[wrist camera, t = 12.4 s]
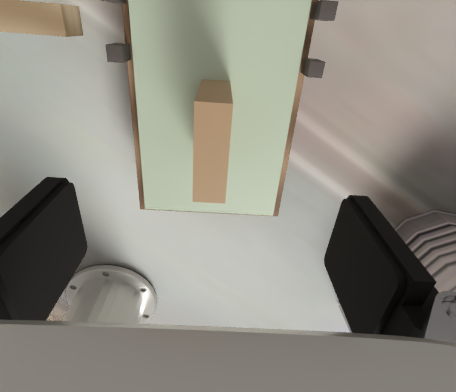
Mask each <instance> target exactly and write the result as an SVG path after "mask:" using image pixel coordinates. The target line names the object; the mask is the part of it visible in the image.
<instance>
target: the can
mask: <svg viewBox="0 0 456 392" xmlns="http://www.w3.org/2000/svg"><path fill="white" fill-rule="evenodd" d="M394 230H395V231H396V232H397V233H398V234H399V236H400V237H401V238H402V239H403V241H404V242H405V243H406V244H407V246H408V247H409V248H410V249H411V251H412V252H413V253H414V254H415V256H416V257H417V258H418V259H419V261H420V262H421V263H422V264H423V266H424V267H425V268H426V269H427V271H428V272H429V273H430V274H431V276H432V277H433V278H434V279H435V281H436V282H437V283H436V284H435V286H434V287H435V288H436V289H437V290H438V292H439V293H440V292H442V291H454V292H456V214H453V213H447V212H442V211H437V210H431V211H428V212H425V213H422V214H419V215H416V216H413V217H410V218H407V219H404V220H403V221H402V222H401V223H400V224H399V225H398V226H397V227H396V228H395V229H394Z"/></svg>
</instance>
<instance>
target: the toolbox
mask: <svg viewBox="0 0 456 392" xmlns="http://www.w3.org/2000/svg"><path fill="white" fill-rule="evenodd" d="M102 1H107V2H112V3H122V10H123V21H124V32H125V43H126V44H121V43H113V44H107V45H106V52H107V60H108V62H118V63H124V62H127V66H128V77H129V88H130V99H131V111H132V122H133V133H134V144H135V155H136V167H137V178H138V189H139V200H140V209H145V204H144V191H143V179H142V166H141V154H140V141H139V129H138V116H137V104H136V91H135V79H134V66H133V54H132V41H131V28H130V16H129V3H128V0H102ZM337 6H338V1H328V0H320V1H318V0H312V1H311V7H310V12H309V18H308V23H307V29H306V35H305V40H304V46H303V51H302V57H301V63H300V68H299V74H298V79H297V85H296V91H295V96H294V102H293V107H292V113H291V119H290V124H289V130H288V135H287V141H286V147H285V152H284V158H283V163H282V169H281V175H280V180H279V186H278V191H277V197H276V203H275V208H274V214H273V216H278V212H279V207H280V202H281V196H282V191H283V186H284V181H285V175H286V170H287V165H288V159H289V154H290V149H291V143H292V138H293V133H294V127H295V122H296V117H297V112H298V106H299V101H300V96H301V90H302V85H303V80H304V75H305V76H307V77H315V78H322V75H323V70H324V66H325V62H324V61H321V60H318V59H309V58H308V53H309V48H310V43H311V37H312V32H313V27H314V21H315V20H321V21H333V20H334V19H335V15H336V10H337ZM148 210H155V209H148ZM167 211H174V210H167ZM186 212H193V211H186ZM205 213H212V212H205ZM224 214H231V213H224ZM243 215H250V214H243ZM262 216H269V215H262Z"/></svg>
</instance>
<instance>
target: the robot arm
mask: <svg viewBox="0 0 456 392" xmlns="http://www.w3.org/2000/svg"><path fill="white" fill-rule="evenodd" d="M86 251H87V242H86V237H85V233H84V228H83V224H82V219H81V215H80V210H79V206H78V201H77V197H76V192H75V187H74V185H73V183H69V181H68V180H67V179H66V178H55V177H47V178H45V179H44V180H43V181H41V182H40V183H39V184H38V185H37V186H36V187H35V188H34V189H32V190H31V191H30V192H29V193H28V194H27V195H26V196H24V197H23V198H22V199H21V200H20V201H19V202H18V203H17V204H15V205H14V206H13V207H12V208H11V209H10V210H9V211H7V212H6V213H5V214H4V215H3V216H2V217H1V218H0V392H456V292H454V291H442V292H440V293H439V292H438V290H437V289H436V288H435V287H434V286H435V284H436V283H437V282H436V281H435V279H434V278H433V277H432V276H431V274H430V273H429V272H428V271H427V269H426V268H425V267H424V266H423V264H422V263H421V262H420V261H419V259H418V258H417V257H416V256H415V254H414V253H413V252H412V251H411V249H410V248H409V247H408V246H407V244H406V243H405V242H404V241H403V239H402V238H401V237H400V236H399V234H398V233H397V232H396V231H395V230H394V228H393V227H392V226H391V225H390V223H389V222H388V221H387V220H386V218H385V217H384V216H383V215H382V213H381V212H380V211H379V210H378V208H377V207H376V206H375V205H374V203H373V202H372V201H371V200H370V198H369V197H367V196H356V195H350V196H349V197H348V198H347V199H344V200H343V201H342V203H341V206H340V210H339V213H338V216H337V219H336V222H335V225H334V228H333V232H332V235H331V238H330V241H329V244H328V247H327V250H326V254H325V257H324V263H325V267H326V270H327V272H328V275H329V277H330V279H331V282H332V284H333V287H334V289H335V292H336V294H337V297H338V299H339V302H340V304H341V307H342V309H343V312H344V314H345V317H346V319H347V322H348V324H349V327H350V329H351V332H352V333H346V332H326V331H304V330H282V329H260V328H236V327H211V326H186V325H160V324H144V323H146V322H147V321H148V320H149V319H150V318H151V317H152V315H153V314H154V311H155V308H156V303H157V299H156V294H155V291H154V289H153V288H152V286H151V285H150V283H149V282H148V281H147V280H146V279H144V278H143V277H142V276H140V275H139V274H137V273H135V272H133V271H131V270H128V269H126V268H123V267H118V266H112V265H97V266H92V267H88V268H85V269H83V270H81V271H79V272H78V273H77V274H75V275H74V276H73V274H74V272H75V271H76V269H77V267H78V266H79V264H80V262H81V261H82V259H83V257H84V256H85V254H86ZM72 276H73V278H72V279H71V277H72ZM70 279H71V280H70ZM69 281H70V282H69ZM68 282H69V284H68ZM67 284H68V285H67ZM66 286H67V288H66V300H67V303H68V305H69V308H68V310H67V312H66V314H65V316H64V317H63V319H62V321H46V319H47V318H48V316H49V314H50V313H51V311H52V309H53V308H54V306H55V304H56V303H57V301H58V299H59V297H60V296H61V294H62V292H63V291H64V289H65V287H66Z"/></svg>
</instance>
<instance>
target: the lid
mask: <svg viewBox="0 0 456 392" xmlns="http://www.w3.org/2000/svg"><path fill="white" fill-rule="evenodd" d="M311 1H312V0H128V3H129V16H130V28H131V41H132V54H133V66H134V79H135V91H136V104H137V116H138V129H139V141H140V154H141V166H142V179H143V191H144V204H145V209H155V210H174V211H193V212H212V213H231V214H250V215H269V216H273V214H274V208H275V203H276V197H277V191H278V186H279V180H280V175H281V169H282V163H283V158H284V152H285V147H286V141H287V135H288V130H289V124H290V119H291V113H292V107H293V102H294V96H295V91H296V85H297V79H298V74H299V68H300V63H301V57H302V51H303V46H304V40H305V35H306V29H307V23H308V18H309V12H310V7H311Z"/></svg>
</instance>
